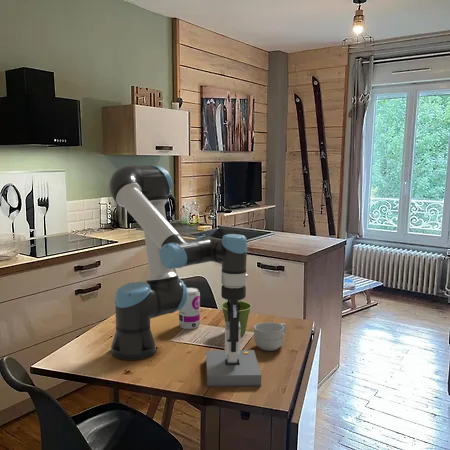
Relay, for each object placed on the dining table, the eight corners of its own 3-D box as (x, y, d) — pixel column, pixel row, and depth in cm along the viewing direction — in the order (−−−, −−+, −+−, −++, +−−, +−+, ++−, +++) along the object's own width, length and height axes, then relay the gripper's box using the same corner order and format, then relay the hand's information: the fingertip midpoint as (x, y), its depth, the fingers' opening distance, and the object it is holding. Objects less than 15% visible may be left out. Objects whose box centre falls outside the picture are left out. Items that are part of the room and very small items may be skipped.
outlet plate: (207, 386, 137) (207, 374, 136) (206, 360, 154) (206, 349, 154) (261, 386, 138) (261, 374, 137) (253, 360, 155) (253, 349, 155)
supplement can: (203, 325, 187) (203, 289, 185) (191, 331, 180) (191, 294, 178) (187, 321, 191) (187, 286, 189) (174, 327, 184) (174, 290, 182)
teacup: (263, 356, 159) (264, 333, 158) (247, 344, 168) (248, 323, 167) (296, 348, 165) (297, 327, 164) (279, 338, 175) (280, 318, 174)
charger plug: (225, 363, 143) (226, 326, 141) (224, 357, 148) (225, 321, 146) (239, 363, 143) (240, 326, 142) (238, 357, 148) (239, 321, 146)
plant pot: (214, 331, 180) (214, 304, 178) (238, 325, 187) (238, 298, 185) (233, 341, 171) (233, 312, 169) (257, 334, 178) (258, 306, 176)
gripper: (249, 293, 134) (247, 369, 137) (243, 277, 151) (241, 345, 154) (223, 293, 133) (221, 369, 136) (220, 277, 150) (218, 346, 154)
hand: (232, 357), depth 145 cm, fingers closed on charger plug, 4 cm apart
